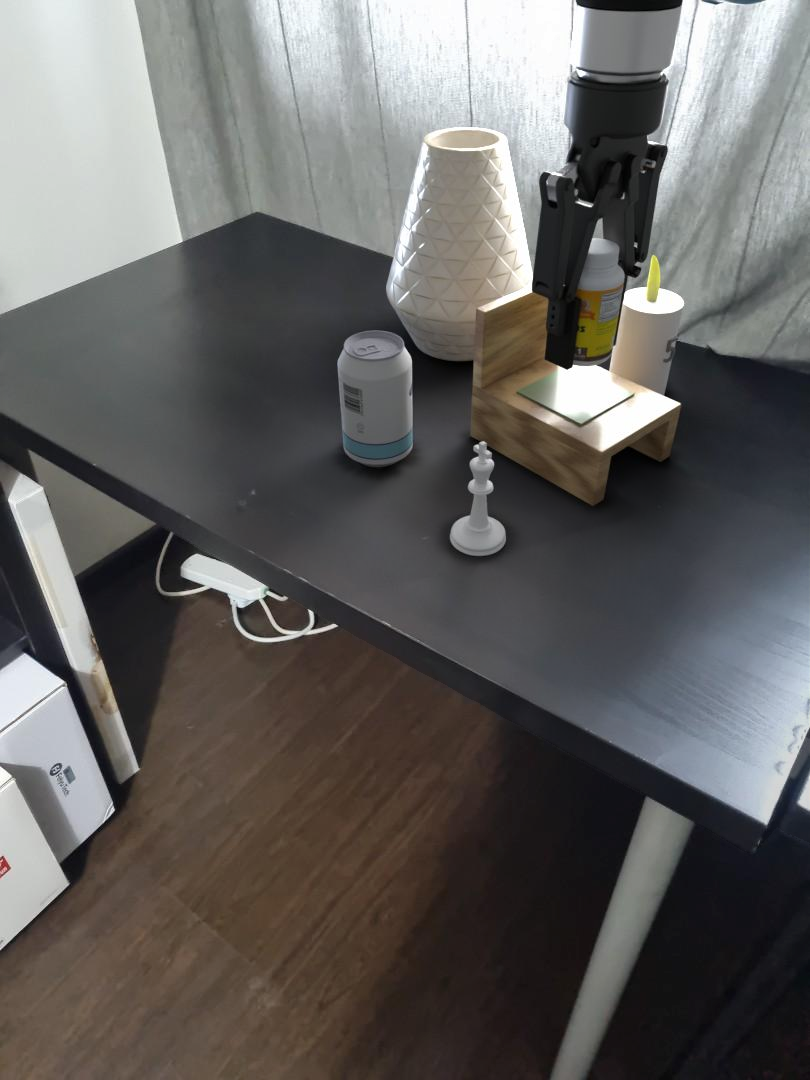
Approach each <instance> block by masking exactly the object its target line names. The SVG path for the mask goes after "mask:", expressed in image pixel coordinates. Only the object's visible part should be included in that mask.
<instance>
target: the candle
mask: <svg viewBox="0 0 810 1080" xmlns="http://www.w3.org/2000/svg"><path fill="white" fill-rule="evenodd" d="M659 262H660V261H659V260H658V258H657V256H656V255H655V254H653V255H652V256H651V259H650V264H649V270H648V271H649V272H648V277H647V283H646V287H636V288H631V289H628V290H627V291H625V297H624V302H623V304H622V310H621V316H620V322H619V328H618V334H617V340H616V345H615V346H613V350H612V354H611V356H610V363H609V370H608V371H610V372H612V373H614V374H616V375H618V376H621V377H623V378H625V379H627V380H630V381H632V382H634V383H636V384H639V385H641V386H643V387H645V388H647V389H650V390H652V391H654V392H656V393H659V394H661V395H663V396H665V393H666V390H667V389H666V388H667V385H668V384H667V383H668V380H669V376H670V375H669V374H670V371H671V366H672V361H673V358H674V357H675V354H676V343H677V341H678V340H679V336H678V334H679V329H680V324H681V319H682V315H683V310H684V305H685V302H684V299H683V298H682V296H680V295H678V294H677V293H675V292H673V291H670V290H668V289H664V288H660V287H661V286H660V285H661V267H660V263H659Z"/></svg>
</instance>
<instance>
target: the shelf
mask: <svg viewBox="0 0 810 1080" xmlns="http://www.w3.org/2000/svg"><path fill="white" fill-rule="evenodd" d="M547 309H548V298H545V297H543V296H541V295H538V294H536V293H533V292H532V285H530V286H528V287H526V288H523V289H521V290H519V291H516V292H514V293H512V294H509V295H507V296H504V297H502V298H500V299H497V300H495V301H493V302H490V303H488V304H486V305H483V306H481V307H478V308H476V321H475V345H474V360H473V370H472V391H471V393H472V396H471V415H470V437H472V438H474V439H475V440H477V441H479V443H480V442H482V441H484V442H486V443H487V447H489V448H491V449H493V450H494V451H496V452H498V453H500V454H501V455H503V456H505V457H507V458H508V459H510V460H512V461H514V462H515V463H517V464H519V465H520V466H522V467H524V468H526V469H527V470H529V471H531V472H533V473H535V474H536V475H538V476H540V477H542V478H543V479H545V480H546V481H548V482H550V483H551V484H554V485H555V486H557V487H559V488H560V489H563V490H564V491H566V492H568V493H569V494H570V495H572V496H575V497H577V498H578V499H580V500H581V501H583V502H585V503H586V504H588V505H590V506H592V507H594V506H595V505H598V503H600V502H601V501H603V500H604V499H605V494H606V488H607V482H608V478H609V472H610V465H611V460H612V457H613V456H615V455H616V454H618V453H620V452H621V451H622V450H624V449H626V448H627V447H630V448H631V449H634V450H636V451H637V452H640V453H642V454H643V455H646V456H647V457H649V458H652V459H653V460H655V461H658V462H660V463H661V462H663V461H664V460H666V459H667V458H669V457H670V456H671V453H672V448H673V444H674V440H675V435H676V430H677V426H678V422H679V418H680V413H681V408H682V403H681V402H679V401H676V400H674V399H672V398H670V397H668V396H665V395H664V396H663V395H661V394H659V393H656V392H654V391H652V390H650V389H647V388H645V387H643V386H641V385H639V384H636V383H634V382H632V381H630V380H627V379H625V378H623V377H621V376H618V375H616V374H614V373H612V372H610V371H609V370H607V369H605V368H603V367H601V366H599V365H594V366H576V365H573V367H572V368H570V369H568V370H566V369H564V368H562V367H559V366H557V365H555V364H553V363H551V362H549V361H547V360H544V359H545V349H546V340H547V331H546V321H547V320H546V319H547Z"/></svg>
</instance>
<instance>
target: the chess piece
mask: <svg viewBox="0 0 810 1080" xmlns="http://www.w3.org/2000/svg"><path fill="white" fill-rule="evenodd" d="M487 447H488V446H487V443H486V442H484V441H482V442H480V441H479V442H478V444H475V445H473V452H475V453H477V454H478V456H476V457H473V458H472V459H471V460H470V461H469V468H470V471H471V473H472V476H473V477H472V478H473V479H472V480H470V481H469V482H468V485H467V489H468V491H469V492H470V493H471V494H472V495H473V500H472V505H471V510H470V514H469V515H466V516H463V517H461V518H459V519H458V520H456V521H455V522H454V523H453V524H452V526H451V529H450V533H449V540H450V543H451V545H452V546H453V548H455V549H456V550H458V551H459V552H461V553H463V554H465V555H468V556H474V557H483V556H484V557H485V556H491V555H493V554H495V553H498V552H499V551H500V550H501V549H502V548H503V547H504V545H505V544H506V541H507V536H506V529H505V527H504V525H503V524H502V523H501V522H500V521H499V520H497V519H495V518H494V517H491V516H489V514H488V502H487V495H489V494H491V493H492V492H493V491H494V485H493V484H494V483H493V482H492V481H491V480H489V479H490V476H491V473H492V472H493V470H494V469H495V462H494V460H493V459H492V458H493V453H492V452H491V451H490V450H488V449H487Z"/></svg>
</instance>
